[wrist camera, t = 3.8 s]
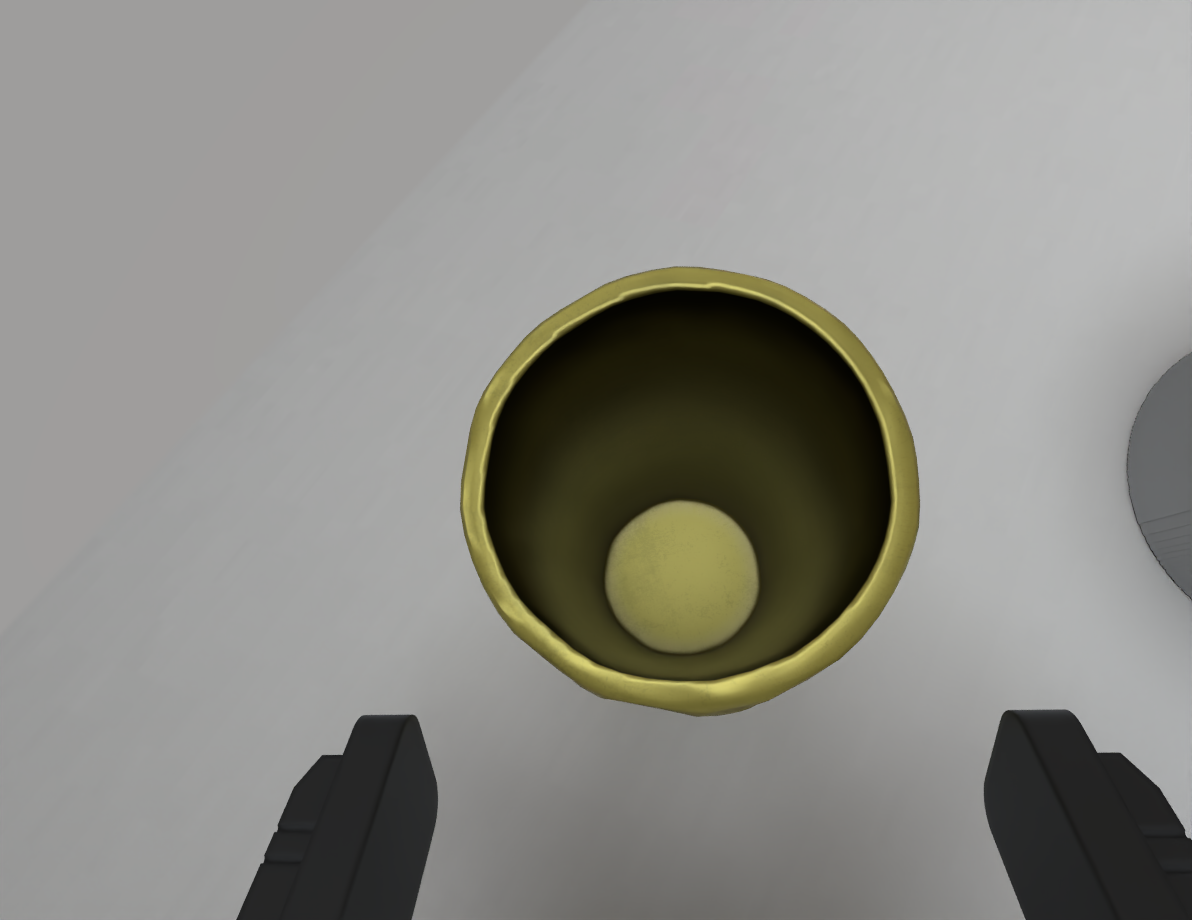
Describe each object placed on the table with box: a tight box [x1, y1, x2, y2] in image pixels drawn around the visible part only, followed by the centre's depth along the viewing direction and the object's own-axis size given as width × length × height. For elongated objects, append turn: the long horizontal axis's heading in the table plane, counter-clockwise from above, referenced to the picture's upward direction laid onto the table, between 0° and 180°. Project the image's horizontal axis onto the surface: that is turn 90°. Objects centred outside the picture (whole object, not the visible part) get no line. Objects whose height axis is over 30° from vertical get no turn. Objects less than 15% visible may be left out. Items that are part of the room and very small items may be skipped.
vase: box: [460, 266, 920, 717], centre depth 16 cm, size 6×6×14 cm
